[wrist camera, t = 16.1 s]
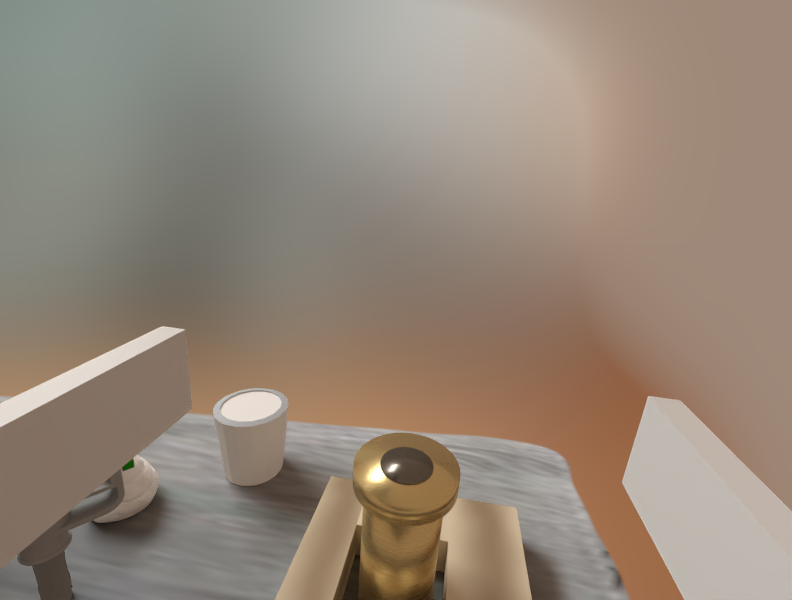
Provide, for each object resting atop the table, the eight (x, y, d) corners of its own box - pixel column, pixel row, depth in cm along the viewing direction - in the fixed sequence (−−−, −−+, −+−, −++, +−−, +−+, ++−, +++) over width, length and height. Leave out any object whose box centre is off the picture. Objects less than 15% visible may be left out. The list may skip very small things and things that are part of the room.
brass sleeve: (334, 652, 24) (340, 494, 21) (359, 559, 31) (366, 425, 27) (437, 676, 24) (460, 516, 20) (441, 575, 30) (460, 439, 26)
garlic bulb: (68, 440, 33) (143, 417, 37) (80, 499, 34) (151, 471, 38) (79, 476, 29) (161, 446, 33) (91, 540, 31) (168, 504, 35)
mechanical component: (151, 570, 29) (134, 454, 26) (-59, 681, 22) (-114, 541, 19) (141, 543, 31) (125, 432, 28) (-54, 637, 24) (-102, 504, 21)
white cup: (254, 436, 44) (251, 380, 42) (303, 457, 41) (303, 398, 39) (201, 474, 38) (195, 411, 36) (254, 501, 35) (251, 434, 33)
